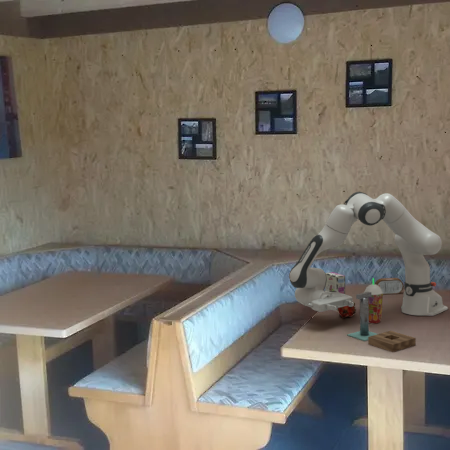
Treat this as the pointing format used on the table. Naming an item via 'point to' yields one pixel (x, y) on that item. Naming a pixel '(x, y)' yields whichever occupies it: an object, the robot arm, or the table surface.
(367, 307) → the gunmetal T-key
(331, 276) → the candy bar box
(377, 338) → the walnut key-slot block
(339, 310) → the dragon fruit
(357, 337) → the teal rubber mat
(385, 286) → the digital desk clock
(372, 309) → the smoothie
